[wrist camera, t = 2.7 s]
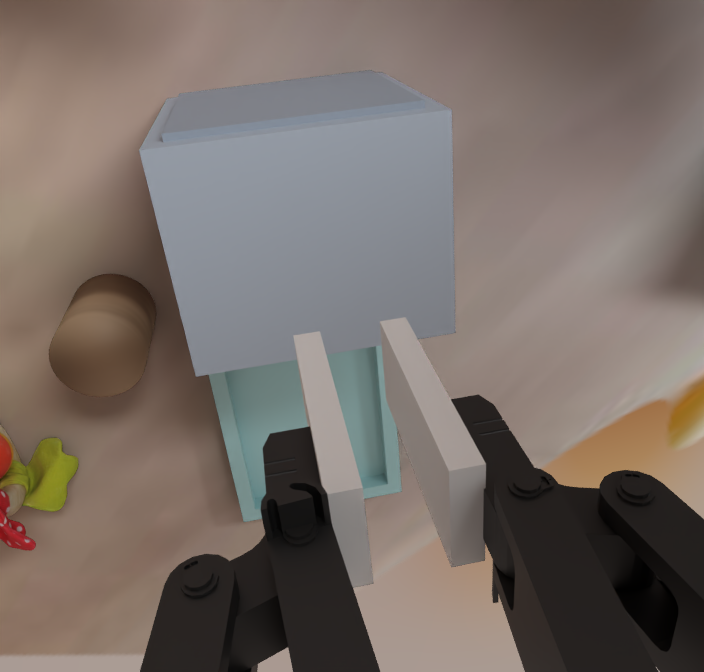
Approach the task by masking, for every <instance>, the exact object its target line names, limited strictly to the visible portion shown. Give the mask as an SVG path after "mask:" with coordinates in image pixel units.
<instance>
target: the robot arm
mask: <svg viewBox="0 0 704 672" xmlns="http://www.w3.org/2000/svg"><path fill="white" fill-rule="evenodd" d="M380 331H381V343H382V356H383V368H384V380H385V393H386V401H387V403H388V406H389V409H390V411H391V414H392V416H393V419H394V421H395V424H396V427H397V429H398V432H399V434H400V437H401V439H402V442H403V445H404V447H405V450H406V452H407V455H408V457H409V460H410V462H411V465H412V468H413V470H414V473H415V475H416V478H417V480H418V483H419V486H420V488H421V491H422V493H423V496H424V498H425V501H426V503H427V506H428V509H429V511H430V514H431V516H432V519H433V521H434V524H435V527H436V529H437V532H438V534H439V537H440V539H441V542H442V544H443V547H444V550H445V552H446V554H447V557H448V560H449V562H450V565H451V567H456V566H460V565H465V564H470V563H475V562H480V561H484V560H485V544H486V545H487V548H488V550H489V552H490V554H491V556H492V558H493V583H492V584H493V585H492V586H493V587H492V596H493V603H496V602H498V593H499V596H500V599H501V602H502V605H503V608H504V611H505V614H506V617H507V620H508V623H509V626H510V629H511V632H512V635H513V637H514V641H515V643H516V647H517V649H518V652H519V655H520V658H521V661H522V664H523V667H524V670H525V672H658V670H659V671H660V672H704V519H703V518H702V517H701V516H699V515H698V514H697V513H696V512H695V511H694V510H692V509H691V508H690V507H689V506H688V505H687V504H686V503H685V502H683V501H682V500H681V499H680V498H679V497H678V496H677V495H675V494H674V493H673V492H672V491H671V490H670V489H668V488H667V487H666V486H665V485H664V484H663V483H661V482H660V481H658V480H657V479H655V478H654V477H652V476H650V475H647V474H644V473H641V472H638V471H628V470H623V471H616V472H612V473H611V474H609V475H607V476H605V477H604V479H603V480H602V482H601V484H600V488H599V489H597V488H578V487H569V486H563V485H560V484H558V483H557V481H556V480H555V479H554V478H553V477H552V476H551V475H550V474H548V473H546V472H544V471H543V470H541V469H537V468H534V466H533V465H532V463H531V462H530V460H529V459H528V457H527V456H526V454H525V452H524V451H523V449H522V448H521V446H520V445H519V443H518V442H517V440H516V438H515V437H514V435H513V434H512V432H511V431H509V428H508V426H507V425H506V423H505V421H504V420H502V417H501V415H500V414H499V412H498V411H497V409H496V407H495V406H494V405H493V404H492V403H490V402H489V401H487V400H486V399H484V398H483V397H481V396H480V395H474V396H468V397H463V398H457V399H452V400H451V399H450V397H449V395H448V394H447V392H446V390H445V388H444V386H443V385H442V383H441V381H440V379H439V377H438V375H437V374H436V372H435V370H434V368H433V366H432V364H431V363H430V361H429V359H428V357H427V355H426V353H425V352H424V350H423V348H422V346H421V344H420V343H419V341H418V339H417V337H416V335H415V333H414V332H413V330H412V328H411V326H410V324H409V322H408V321H407V319H406V317H403V318H397V319H391V320H385V321H380ZM293 337H294V344H295V350H296V356H297V363H298V369H299V375H300V382H301V388H302V394H303V401H304V407H305V413H306V419H307V424H308V427H304V428H298V429H292V430H287V431H281V432H276V433H270V434H269V436H268V438H267V440H266V442H265V444H264V446H263V461H264V473H265V486H266V494H265V496H264V497H263V499H262V500H261V515H262V520H263V524H264V529H265V536H264V537H263V538H262V540H261V541H260V543H259V544H257V545H256V546H255V547H254V548H253V549H252V550H250V551H249V552H247V553H245V554H244V555H242V556H240V557H237V558H235V559H233V560H231V561H228V560H227V559H225V558H223V557H221V556H219V555H212V554H204V555H199V556H195V557H192V558H190V559H188V560H186V561H184V562H183V563H181V564H179V565H178V566H177V567H176V568H175V569H174V570H173V571H172V572H171V573H170V575H169V577H168V579H167V581H166V583H165V585H164V589H163V592H162V596H161V599H160V603H159V606H158V610H157V613H156V617H155V620H154V624H153V628H152V631H151V635H150V638H149V642H148V645H147V649H146V652H145V656H144V659H143V663H142V666H141V670H140V672H257V668H258V663H260V662H262V661H264V660H265V659H267V658H269V657H271V656H273V655H274V654H276V653H278V652H280V651H282V650H283V649H285V648H287V647H288V648H289V653H290V658H291V663H292V668H293V672H380V670H379V666H378V663H377V660H376V657H375V654H374V651H373V648H372V645H371V642H370V639H369V636H368V633H367V630H366V627H365V624H364V621H363V618H362V614H361V612H360V608H359V606H358V603H357V599H356V596H355V593H354V590H353V588H355V587H360V586H364V585H369V584H373V575H372V566H371V557H370V548H369V539H368V530H367V521H366V512H365V503H364V494H363V487H362V483H361V479H360V476H359V472H358V468H357V465H356V461H355V458H354V454H353V450H352V447H351V443H350V439H349V436H348V432H347V428H346V425H345V421H344V417H343V414H342V410H341V406H340V403H339V399H338V396H337V392H336V388H335V385H334V381H333V377H332V374H331V370H330V366H329V363H328V359H327V355H326V352H325V348H324V345H323V341H322V337H321V334H320V331H318V332H312V333H306V334H300V335H293ZM655 666H656V667H657V668H658V670H657V669H656V667H655Z"/></svg>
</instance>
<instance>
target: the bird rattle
mask: <svg viewBox="0 0 704 672" xmlns="http://www.w3.org/2000/svg"><path fill="white" fill-rule="evenodd" d="M77 468H78V458H77V457H75V456H72V455H66V454H65V453H64V452H62V442H61V440H59V439H58V438H48V439H44V440H42V441H41V442H40V444H39V446H38V447H37V449H36V451H35V453H34V455H33V457H32V459H31V461H30V462H29V464H28V465H27V466H26V467H25V466H24V465H23V464H21V461H20V458H19V455H18V453H17V451H16V448H15V447H14V445H13V443H12V441H11V439H10V437H9V436H8V434H7V433H6V431H5V430H4V429H3V427H2V426H1V424H0V540H2V541H4V542H5V543H6V544H7V545H8V546H9V547H12V548H19V549H22V550H33V549H34V548H35V547H36V543H35V541H34V540H32V539H30V538H29V537H27V536H25V534H26V531H25V528H24V526H23V525H22V524H21V523H20V522H16V521H13V520H10V519H8V517H9V516H11V515H13V514H14V513H16V512H17V511H18V510H19V509H20V507H21V506H29V507H32V508H35V509H39V510H45V511H50V512H54V511H58V510H60V509H61V508H62V507H63V505H64V503H65V500H66V497H67V483H68V482H69V481H70V479H71V478H72V477H73V476H74V474H75V472H76V471H77Z"/></svg>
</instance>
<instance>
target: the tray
mask: <svg viewBox="0 0 704 672" xmlns="http://www.w3.org/2000/svg"><path fill="white" fill-rule="evenodd" d="M327 359H328V363H329V366H330V370H331V374H332V377H333V381H334V385H335V388H336V392H337V396H338V399H339V403H340V406H341V410H342V414H343V417H344V421H345V425H346V428H347V432H348V436H349V439H350V443H351V447H352V450H353V454H354V458H355V461H356V465H357V468H358V472H359V476H360V479H361V483H362V487H363V494H364V499H366V498H372V497H377V496H382V495H387V494H392V493H397V492H402V489H401V476H400V462H399V449H398V435H397V427H396V424H395V421H394V419H393V416H392V414H391V411H390V409H389V406H388V403H387V401H386V393H385V380H384V368H383V356H382V345H381V346H375V347H369V348H363V349H357V350H351V351H345V352H339V353H334V354H328V355H327ZM209 379H210V383H211V387H212V391H213V395H214V400H215V404H216V408H217V412H218V416H219V421H220V425H221V429H222V433H223V437H224V441H225V446H226V450H227V454H228V458H229V462H230V466H231V471H232V475H233V479H234V483H235V487H236V492H237V496H238V500H239V504H240V508H241V512H242V517H243V521H244V522H247V521H253V520H258V519H262V515H261V500H262V499H263V497H264V496H265V494H266V486H265V473H264V461H263V446H264V444H265V442H266V440H267V438H268V436H269V434H270V433H276V432H281V431H287V430H292V429H298V428H304V427H308V424H307V419H306V413H305V407H304V401H303V394H302V388H301V382H300V375H299V369H298V363H297V360H292V361H286V362H280V363H274V364H268V365H262V366H256V367H250V368H245V369H239V370H233V371H227V372H221V373H215V374H209Z"/></svg>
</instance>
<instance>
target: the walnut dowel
mask: <svg viewBox="0 0 704 672" xmlns="http://www.w3.org/2000/svg"><path fill="white" fill-rule="evenodd" d="M155 320H156V306H155V303H154V300H153V298H152V296H151V295H150V293H149V292H148V290H147V289H146V288H145V287H144V286H142V285H141V284H140V283H139V282H137V281H135V280H133V279H132V278H129V277H126V276H123V275H118V274H103V275H99V276H96V277H93V278H91V279H89V280H87V281H86V282H84V283H83V284H82V285H81V286H80V287H79V289H78V290H77V291H76V293H75V295H74V297H73V299H72V301H71V303H70V305H69V307H68V309H67V311H66V313H65V315H64V317H63V319H62V321H61V323H60V325H59V327H58V329H57V331H56V333H55V335H54V337H53V339H52V342H51V344H50V349H49V360H50V364H51V367H52V369H53V371H54V373H55V374H56V376H57V377H58V378H59V379H60V380H61V381H62V382H63V383H64V384H65V385H66V386H68V387H69V388H71V389H72V390H74V391H76V392H79V393H81V394H84V395H88V396H94V397H108V396H114V395H118V394H121V393H123V392H125V391H127V390H129V389H130V388H132V387H133V386H134V385H135V384H136V383H137V382H138V381H139V380H140V378H141V377H142V375H143V373H144V370H145V366H146V362H147V357H148V352H149V348H150V343H151V338H152V334H153V329H154V324H155Z"/></svg>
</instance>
